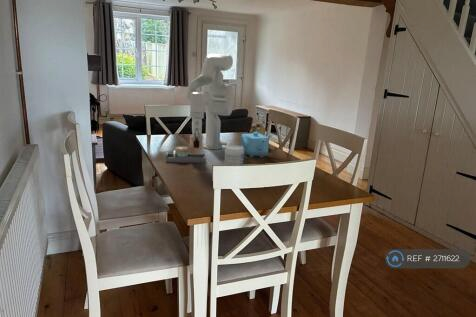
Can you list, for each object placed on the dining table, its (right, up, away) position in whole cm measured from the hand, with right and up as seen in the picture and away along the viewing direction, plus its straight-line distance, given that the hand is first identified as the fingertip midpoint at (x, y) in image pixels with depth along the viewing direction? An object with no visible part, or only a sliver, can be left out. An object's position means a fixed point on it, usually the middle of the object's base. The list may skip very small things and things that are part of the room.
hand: (196, 145), depth 201 cm
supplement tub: (+21, -16, -18) cm, 32 cm away
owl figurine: (+36, +1, +47) cm, 59 cm away
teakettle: (+34, -6, +21) cm, 41 cm away
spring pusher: (-12, -8, +1) cm, 15 cm away
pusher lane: (-6, -8, +2) cm, 11 cm away
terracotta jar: (0, -1, 0) cm, 1 cm away
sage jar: (-8, -8, +1) cm, 12 cm away
